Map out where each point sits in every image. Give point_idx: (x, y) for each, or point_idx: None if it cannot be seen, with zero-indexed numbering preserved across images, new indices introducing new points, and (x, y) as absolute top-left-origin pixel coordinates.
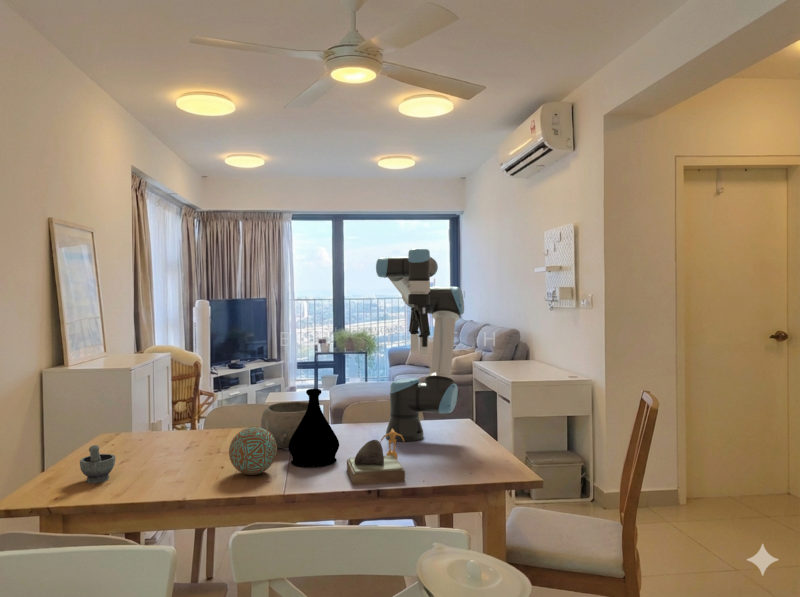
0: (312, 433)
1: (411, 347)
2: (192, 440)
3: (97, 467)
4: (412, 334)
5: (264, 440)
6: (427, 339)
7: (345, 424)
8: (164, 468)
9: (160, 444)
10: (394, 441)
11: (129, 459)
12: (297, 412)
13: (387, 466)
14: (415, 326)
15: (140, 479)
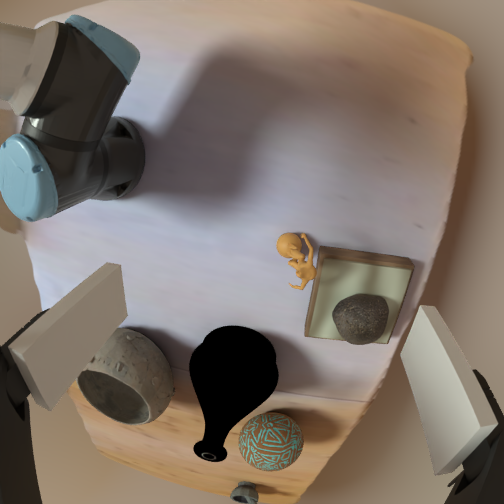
0: (260, 402)
1: (108, 334)
2: (119, 425)
3: (257, 496)
4: (45, 401)
5: (293, 451)
6: (486, 409)
7: (30, 246)
8: (224, 460)
9: (135, 445)
10: (304, 258)
11: (186, 468)
12: (148, 403)
13: (390, 291)
14: (20, 469)
15: (255, 472)
